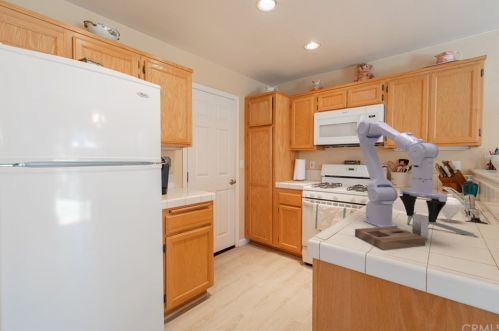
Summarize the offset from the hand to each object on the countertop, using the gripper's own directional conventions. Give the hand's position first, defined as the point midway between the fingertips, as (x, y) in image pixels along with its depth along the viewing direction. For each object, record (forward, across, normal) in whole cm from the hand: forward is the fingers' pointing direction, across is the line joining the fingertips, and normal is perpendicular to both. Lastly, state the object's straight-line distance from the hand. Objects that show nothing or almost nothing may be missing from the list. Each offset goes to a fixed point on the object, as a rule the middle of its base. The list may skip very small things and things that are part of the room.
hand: (420, 218), depth 75 cm
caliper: (+7, -5, +16) cm, 18 cm away
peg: (+7, 0, 0) cm, 7 cm away
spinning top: (+7, -13, +32) cm, 35 cm away
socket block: (+7, -1, -12) cm, 14 cm away
